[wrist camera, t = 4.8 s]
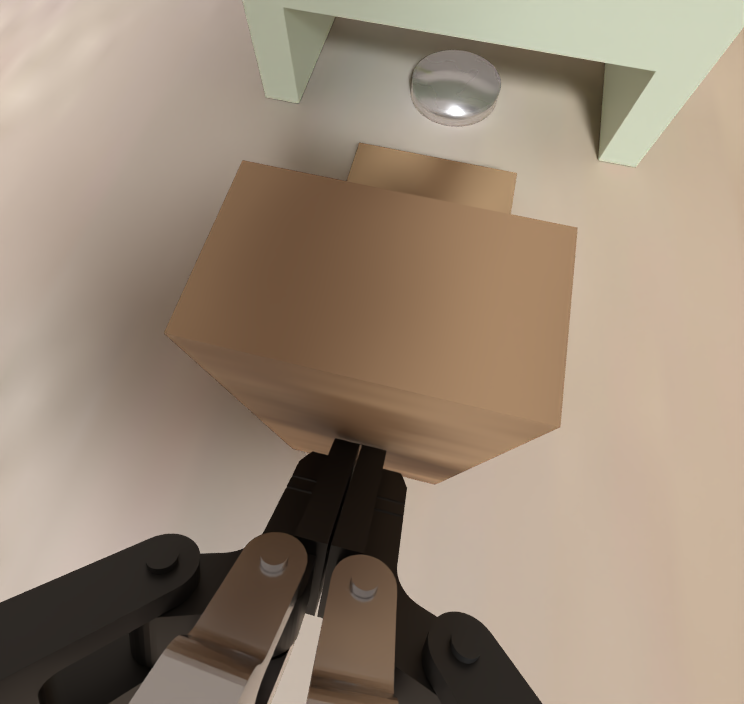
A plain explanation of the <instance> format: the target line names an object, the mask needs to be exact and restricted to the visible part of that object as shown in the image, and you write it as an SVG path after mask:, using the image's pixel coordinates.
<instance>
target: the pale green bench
mask: <svg viewBox="0 0 744 704" xmlns="http://www.w3.org/2000/svg"><path fill="white" fill-rule="evenodd" d="M242 1H243V5H244V10H245V14H246V18H247V22H248V26H249V30H250V34H251V38H252V43H253V47H254V51H255V55H256V59H257V63H258V67H259V71H260V75H261V80H262V84H263V88H264V92H265V96H266V97H267V98H272V99H277V100H283V101H288V102H293V103H298V104H299V102H300V100H301V98H302V95H303V93H304V90H305V88H306V86H307V83H308V81H309V79H310V76H311V74H312V71H313V69H314V67H315V64H316V62H317V59H318V57H319V55H320V52H321V50H322V48H323V45H324V43H325V40H326V38H327V36H328V33H329V31H330V29H331V26H332V24H333V21H334V19H335V17H336V16H337V17H343V18H348V19H354V20H360V21H366V22H372V23H377V24H383V25H389V26H395V27H401V28H406V29H412V30H418V31H424V32H430V33H435V34H441V35H447V36H453V37H459V38H465V39H470V40H476V41H482V42H488V43H494V44H499V45H505V46H511V47H517V48H523V49H528V50H534V51H540V52H546V53H552V54H558V55H563V56H569V57H575V58H581V59H587V60H592V61H598V62H604V63H605V72H604V86H603V100H602V114H601V129H600V143H599V157H598V160H600V161H605V162H610V163H616V164H621V165H626V166H631V167H636V166H637V165H638V164H639V162H640V161H641V160H642V158H643V157H644V156H645V154H646V153H647V152H648V151H649V149H650V148H651V147H652V145H653V144H654V143H655V142H656V140H657V139H658V138H659V136H660V135H661V134H662V132H663V131H664V130H665V129H666V127H667V126H668V125H669V123H670V122H671V121H672V119H673V118H674V117H675V116H676V114H677V113H678V112H679V110H680V109H681V108H682V106H683V105H684V104H685V103H686V101H687V100H688V99H689V97H690V96H691V95H692V94H693V92H694V91H695V90H696V88H697V87H698V86H699V84H700V83H701V82H702V81H703V79H704V78H705V77H706V75H707V74H708V73H709V71H710V70H711V69H712V68H713V66H714V65H715V64H716V62H717V61H718V60H719V58H720V57H721V56H722V55H723V53H724V52H725V51H726V49H727V48H728V47H729V45H730V44H731V43H732V42H733V40H734V39H735V38H736V36H737V35H738V34H739V33H740V31H741V30H742V29H743V27H744V0H242Z"/></svg>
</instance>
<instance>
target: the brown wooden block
mask: <svg viewBox="0 0 744 704" xmlns="http://www.w3.org/2000/svg"><path fill="white" fill-rule="evenodd" d="M516 176H517V173H513V172H508V171H503V170H498V169H493V168H488V167H483V166H477V165H472V164H467V163H462V162H457V161H452V160H446V159H441V158H436V157H431V156H426V155H421V154H416V153H410V152H405V151H400V150H395V149H390V148H385V147H379V146H374V145H369V144H364V143H359V146H358V148H357V151H356V154H355V157H354V160H353V163H352V166H351V169H350V172H349V175H348V178H347V181H343V180H338V179H333V178H328V177H323V176H318V175H313V174H308V173H303V172H298V171H293V170H288V169H283V168H278V167H273V166H268V165H263V164H258V163H253V162H249V161H244V160H242V163H241V165H240V167H239V169H238V171H237V174H236V176H235V178H234V180H233V182H232V185H231V187H230V189H229V191H228V193H227V196H226V198H225V200H224V202H223V204H222V207H221V209H220V211H219V213H218V215H217V218H216V220H215V222H214V224H213V226H212V228H211V231H210V233H209V235H208V237H207V239H206V242H205V244H204V246H203V248H202V250H201V253H200V255H199V257H198V259H197V261H196V264H195V266H194V268H193V270H192V272H191V275H190V277H189V279H188V281H187V283H186V286H185V288H184V290H183V292H182V294H181V297H180V299H179V301H178V303H177V305H176V308H175V310H174V312H173V314H172V316H171V319H170V321H169V323H168V325H167V327H166V330H165V332H164V334H165V335H166V336H167V337H169V338H170V339H171V340H172V341H173V342H174V343H175V344H176V345H178V346H179V347H180V348H181V349H182V350H183V351H184V352H185V353H186V354H188V355H189V356H190V357H191V358H192V359H193V360H194V361H195V362H196V363H198V364H199V365H200V366H201V367H202V368H203V369H204V370H205V371H207V372H208V373H209V374H210V375H211V376H212V377H213V378H214V379H215V380H217V381H218V382H219V383H220V384H221V385H222V386H223V387H224V388H225V389H227V390H228V391H229V392H230V393H231V394H232V395H233V396H234V397H236V398H237V399H238V400H239V401H240V402H241V403H242V404H243V405H244V406H246V407H247V408H248V409H249V410H250V411H251V412H252V413H253V414H254V415H256V416H257V417H258V418H259V419H260V420H261V421H262V422H263V423H265V424H266V425H267V426H268V427H269V428H270V429H271V430H272V431H273V432H275V433H276V434H277V435H278V436H279V437H280V438H281V439H282V440H283V441H285V442H286V443H287V444H288V445H289V446H290V447H291V448H292V449H296V450H300V451H304V452H308V453H311V452H312V451H314V452H318V453H322V454H326V455H328V454H329V451H330V449H331V446H332V444H333V442H334V439H335V438H338V439H342V440H346V441H350V442H354V443H358V444H360V448H359V452H360V449H361V446H362V445H366V446H370V447H374V448H378V449H382V450H387V452H386V456H385V461H384V466H383V469H386V470H390V471H394V472H398V473H401V474H402V476H403V477H407V478H411V479H415V480H419V481H423V482H427V483H431V484H437V483H440V482H442V481H444V480H446V479H448V478H450V477H453V476H455V475H457V474H459V473H461V472H464V471H466V470H468V469H470V468H472V467H474V466H477V465H479V464H481V463H483V462H485V461H487V460H490V459H492V458H494V457H496V456H498V455H501V454H503V453H505V452H507V451H509V450H511V449H514V448H516V447H518V446H520V445H522V444H524V443H527V442H529V441H531V440H533V439H535V438H538V437H540V436H542V435H544V434H546V433H548V432H551V431H553V430H555V429H557V428H559V427H560V424H561V413H562V401H563V389H564V378H565V366H566V355H567V343H568V332H569V320H570V309H571V297H572V285H573V274H574V262H575V251H576V239H577V228H576V227H571V226H566V225H561V224H556V223H551V222H546V221H541V220H537V219H532V218H527V217H522V216H517V215H512V214H511V208H512V202H513V196H514V189H515V183H516ZM358 456H359V453H358ZM357 459H358V458H357Z"/></svg>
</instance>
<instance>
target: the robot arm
mask: <svg viewBox="0 0 744 704" xmlns="http://www.w3.org/2000/svg"><path fill="white" fill-rule="evenodd" d="M359 448H360V444H358V443H354V442H350V441H346V440H342V439H338V438H335V439H334V442H333V444H332V446H331V449H330V451H329V454H328V455H326V454H322V453H318V452H314V451H312V452H311V453H309V454H308V455H307V456H305V457H304V458H303V459H301V460H300V461H299V463H298V465H297V467H296V469H295V471H294V473H293V476H292V477H291V479H290V481H289V483H288V485H287V488H286V489H285V491H284V493H283V495H282V497H281V499H280V501H279V503H278V505H277V507H276V509H275V511H274V513H273V515H272V517H271V519H270V521H269V523H268V525H267V527H266V529H265V530H264V532H263V534H262V535H260V536H258V537H256V538H254V539H253V540H251V541H250V542H249V543H248V544H247V545H246V547H245V548H244V549H241V550H238V551H234V552H228V553H206V554H200V551H199V548H198V546H197V545H196V543H195V542H194V541H193V540H191V539H190V538H188V537H186V536H183V535H179V534H163V535H159V536H155V537H153V538H150V539H148V540H145V541H143V542H141V543H138V544H136V545H134V546H131V547H129V548H127V549H124V550H122V551H120V552H117V553H115V554H113V555H110V556H108V557H106V558H103V559H101V560H99V561H96V562H94V563H92V564H89V565H87V566H85V567H82V568H80V569H78V570H75V571H73V572H71V573H68V574H66V575H64V576H61V577H59V578H57V579H54V580H52V581H50V582H47V583H45V584H43V585H40V586H38V587H36V588H33V589H31V590H29V591H26V592H24V593H22V594H19V595H17V596H15V597H12V598H10V599H8V600H5V601H3V602H1V603H0V704H271V702H272V700H273V697H274V695H275V692H276V690H277V687H278V685H279V682H280V680H281V677H282V675H283V672H284V670H285V667H286V665H287V662H288V660H289V657H290V655H291V652H292V649H293V646H294V642H295V640H296V638H297V636H298V633H299V630H300V627H301V624H302V621H303V618H304V614H305V613H306V614H310V615H313V616H315V612H316V609H317V606H318V602H319V599H320V596H321V600H320V605H319V610H318V616H317V617H321V618H323V621H322V626H321V631H320V636H319V641H318V646H317V651H316V656H315V661H314V666H313V671H312V676H311V681H310V686H309V692H308V697H307V702H306V704H542V703H541V701H540V700H539V698H538V697H537V696H536V694H535V693H534V692H533V690H532V689H531V687H530V686H529V685H528V683H527V682H526V681H525V679H524V678H523V676H522V675H521V674H520V672H519V671H518V670H517V668H516V667H515V665H514V664H513V663H512V661H511V660H510V659H509V657H508V656H507V654H506V653H505V652H504V650H503V649H502V647H501V646H500V645H499V643H498V642H497V641H496V639H495V638H494V636H493V635H492V634H491V632H490V631H489V630H488V629H487V628H486V627H485V626H484V625H483V624H482V623H481V622H480V621H478V620H477V619H475V618H474V617H472V616H470V615H467V614H465V613H461V612H447V613H444V614H442V615H440V616H438V617H436V616H435V615H433V614H432V613H430V612H428V611H427V610H425V609H424V608H422V607H421V606H419V605H418V604H416V603H415V602H414V601H413V600H412V599H411V598H410V597H409V596H408V595H407V594H406V593H405V591H404V589H403V588H402V586H401V584H400V582H399V579H398V574H397V563H398V555H399V547H400V539H401V531H402V523H403V515H404V507H405V506H404V505H405V499H406V491H407V487H406V484H405V482H404V479H403V477H402V474H401V473H398V472H394V471H390V470H386V469H383V466H384V461H385V456H386V452H387V450H382V449H378V448H374V447H370V446H366V445H362V446H361V449H360V452H359ZM358 453H359V456H358ZM357 458H358V459H357ZM321 592H322V595H321Z"/></svg>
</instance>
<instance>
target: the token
mask: <svg viewBox="0 0 744 704" xmlns="http://www.w3.org/2000/svg"><path fill="white" fill-rule="evenodd" d="M500 88H501V79H500V76H499V74H498V72H497V70H496V69H495V67H494V66H493V65H492V64H491V63H490V62H489V61H487V60H486V59H484V58H483V57H481V56H479V55H477V54H474V53H471V52H467V51H462V50H445V51H439V52H436V53H433V54H431V55H429V56H427V57H425V58H424V59H422V60H421V61H420V62H419V63H418V64H417V66H416V67H415V69H414V72H413V76H412V86H411V98H412V101H413V104H414V106H415V107H416V109H417V110H418V111H419V112H420V113H421V114H422V115H423V116H425V117H426V118H428V119H429V120H431V121H433V122H436V123H439V124H442V125H446V126H467V125H472V124H475V123H478V122H480V121H482V120H483V119H485V118H486V117H487V116H488V115H489V114H490V113H491V112H492V111H493V109H494V107H495V104H496V101H497V98H498V95H499V91H500Z"/></svg>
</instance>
